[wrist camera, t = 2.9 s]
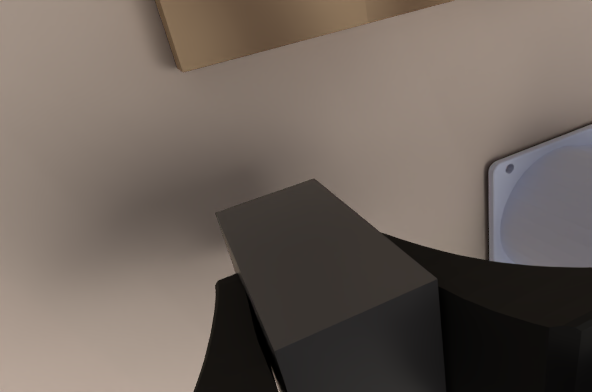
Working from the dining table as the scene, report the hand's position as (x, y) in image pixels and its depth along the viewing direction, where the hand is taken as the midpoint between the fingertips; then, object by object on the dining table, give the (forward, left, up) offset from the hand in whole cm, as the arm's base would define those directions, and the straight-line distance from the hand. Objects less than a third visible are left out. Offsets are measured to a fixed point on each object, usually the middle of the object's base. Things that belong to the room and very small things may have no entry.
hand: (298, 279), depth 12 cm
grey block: (0, 0, -2) cm, 2 cm away
